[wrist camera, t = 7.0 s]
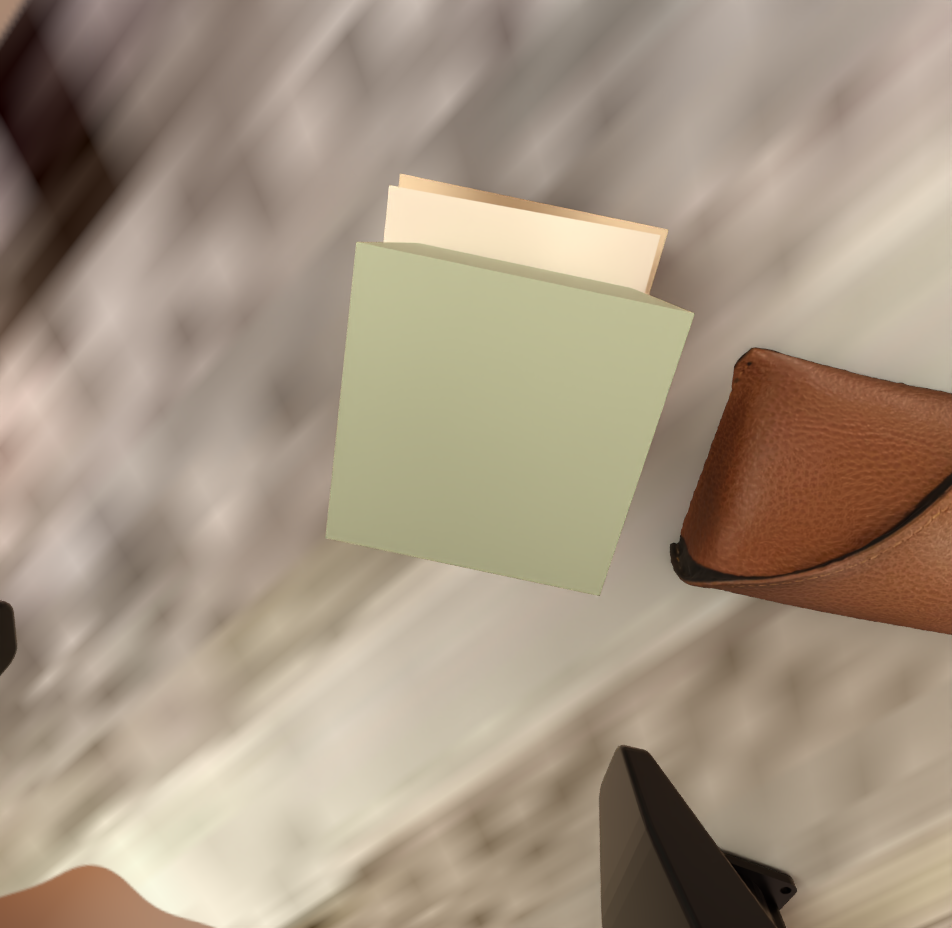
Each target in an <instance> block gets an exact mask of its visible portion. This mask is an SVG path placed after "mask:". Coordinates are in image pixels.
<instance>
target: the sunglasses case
mask: <svg viewBox="0 0 952 928" xmlns="http://www.w3.org/2000/svg"><path fill="white" fill-rule="evenodd" d="M733 373H734V374H733V380H732V391H731V393H730V396H729V400H728V402H727V404H726V407H725V410H724V413H723V416H722V419H721V420H720V423H719V426H718V429H717V432H716V434H715V438H714V440H713V442H712V444H711V448H710V451H709V454H708V457H707V459H706V461H705V464H704V468H703V471H702V473H701V475H700V478H699V481H698V484H697V487H696V489H695V491H694V494H693V498H692V500H691V502H690V506H689V510H688V513H687V514H686V517H685V519H684V522H683V527H682V529H681V535H680V542H679V543H677V544H676V543H671V544H670V556H671V563H672V565H673V569H674V571H675V573H676V574H677V576H678V577H679V578H680V579H681V580H682V581H683V582H684V583H687V584H689V585H692V586H698V587H703V588H714V589H719V590H724V591H729V592H732V593H737V594H742V595H747V596H750V597H755V598H760V599H765V600H769V601H773V602H778V603H782V604H787V605H792V606H797V607H801V608H807V609H812V610H817V611H821V612H827V613H832V614H838V615H842V616H848V617H853V618H858V619H864V620H869V621H874V622H882V623H887V624H892V625H898V626H905V627H911V628H915V629H921V630H926V631H933V632H938V633H945V634H950V635H952V394H951V393H947V392H943V391H937V390H932V389H928V388H922V387H915V386H909V385H906V384H904V383H894V382H891V381H887V380H882V379H877V378H871V377H869V376H865V375H860V374H856V373H852V372H849V371H846V370H842V369H838V368H833V367H830V366H826V365H821V364H817V363H814V362H810V361H807V360H804V359H800V358H796V357H792V356H789V355H785V354H782V353H779V352H777V351H773V350H768V349H762V348H751V349H750V350H749V351H748V352H747V353H745V354H744V355H743V356H742V357H741V358H740V359H739V360H738V361H737V363H736V364H735V366H734V372H733Z"/></svg>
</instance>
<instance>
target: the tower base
mask: <svg viewBox="0 0 952 928" xmlns="http://www.w3.org/2000/svg"><path fill="white" fill-rule="evenodd" d="M399 187H402V188H407V189H412V190H418V191H423V192H429V193H434V194H440V195H445V196H451V197H456V198H461V199H467V200H472V201H478V202H483V203H489V204H494V205H500V206H505V207H510V208H516V209H521V210H527V211H532V212H538V213H543V214H549V215H554V216H559V217H565V218H570V219H576V220H581V221H587V222H592V223H598V224H603V225H608V226H614V227H619V228H625V229H630V230H636V231H641V232H647V233H652V234H657V235H660V239H659V242H658V246H657V250H656V253H655V257H654V261H653V264H652V268H651V272H650V275H649V279H648V283H647V286H646V290H645V294H648V295H649V294H650V290H651V287H652V283H653V280H654V277H655V273H656V270H657V267H658V263H659V260H660V257H661V253H662V250H663V247H664V243H665V240H666V237H667V233H668V230H667V229H662V228H658V227H653V226H648V225H643V224H638V223H634V222H629V221H624V220H619V219H615V218H610V217H605V216H600V215H595V214H591V213H586V212H581V211H576V210H571V209H567V208H562V207H557V206H552V205H547V204H543V203H538V202H533V201H528V200H524V199H519V198H514V197H509V196H504V195H500V194H495V193H490V192H485V191H480V190H476V189H471V188H466V187H461V186H457V185H452V184H447V183H442V182H437V181H433V180H428V179H423V178H418V177H413V176H409V175H404V174H400V180H399Z"/></svg>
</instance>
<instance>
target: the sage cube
mask: <svg viewBox="0 0 952 928" xmlns="http://www.w3.org/2000/svg"><path fill="white" fill-rule="evenodd" d="M694 314H695V313H693V312H690V311H688V310H685V309H683V308H680V307H678V306H675V305H673V304H670V303H668V302H665V301H663V300H660V299H658V298H655V297H653V296H650V295H648V294H645V293H643V292H640V291H638V290H635V289H633V288H629V287H624V286H620V285H615V284H610V283H605V282H601V281H596V280H591V279H587V278H582V277H577V276H572V275H568V274H563V273H558V272H553V271H549V270H544V269H539V268H535V267H530V266H525V265H520V264H516V263H511V262H506V261H501V260H497V259H492V258H487V257H482V256H478V255H473V254H468V253H464V252H459V251H454V250H449V249H445V248H440V247H435V246H430V245H426V244H421V243H405V242H356V251H355V261H354V270H353V280H352V289H351V299H350V308H349V318H348V327H347V337H346V346H345V356H344V366H343V375H342V385H341V394H340V404H339V413H338V423H337V432H336V442H335V451H334V461H333V471H332V480H331V490H330V499H329V509H328V518H327V528H326V537H325V538H327V539H332V540H337V541H341V542H346V543H351V544H356V545H360V546H365V547H370V548H375V549H379V550H384V551H389V552H394V553H398V554H403V555H408V556H412V557H417V558H422V559H427V560H431V561H436V562H441V563H446V564H450V565H455V566H460V567H465V568H469V569H474V570H479V571H484V572H488V573H493V574H498V575H503V576H507V577H512V578H517V579H522V580H526V581H531V582H536V583H541V584H545V585H550V586H555V587H560V588H564V589H569V590H574V591H579V592H583V593H588V594H593V595H598V596H600V593H601V590H602V587H603V584H604V581H605V578H606V575H607V572H608V569H609V566H610V563H611V561H612V558H613V555H614V552H615V549H616V546H617V543H618V540H619V537H620V534H621V531H622V528H623V525H624V522H625V519H626V516H627V513H628V510H629V507H630V504H631V501H632V498H633V495H634V492H635V489H636V486H637V483H638V480H639V477H640V474H641V472H642V469H643V466H644V463H645V460H646V457H647V454H648V451H649V448H650V445H651V442H652V439H653V436H654V433H655V430H656V427H657V424H658V421H659V418H660V415H661V412H662V409H663V406H664V403H665V400H666V397H667V394H668V391H669V388H670V386H671V383H672V380H673V377H674V374H675V371H676V368H677V365H678V362H679V359H680V356H681V353H682V350H683V347H684V344H685V341H686V338H687V335H688V332H689V329H690V326H691V323H692V320H693V317H694Z"/></svg>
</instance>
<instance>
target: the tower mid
mask: <svg viewBox="0 0 952 928" xmlns="http://www.w3.org/2000/svg"><path fill="white" fill-rule="evenodd" d="M659 239H660V235H657V234H652V233H647V232H641V231H636V230H630V229H625V228H619V227H614V226H608V225H603V224H598V223H592V222H587V221H581V220H576V219H570V218H565V217H559V216H554V215H549V214H543V213H538V212H532V211H527V210H521V209H516V208H510V207H505V206H500V205H494V204H489V203H483V202H478V201H472V200H467V199H461V198H456V197H451V196H445V195H440V194H434V193H429V192H423V191H418V190H412V189H407V188H402V187H396V186H391V185H389V194H388V204H387V214H386V223H385V233H384V242H405V243H421V244H426V245H430V246H435V247H440V248H445V249H449V250H454V251H459V252H464V253H468V254H473V255H478V256H482V257H487V258H492V259H497V260H501V261H506V262H511V263H516V264H520V265H525V266H530V267H535V268H539V269H544V270H549V271H553V272H558V273H563V274H568V275H572V276H577V277H582V278H587V279H591V280H596V281H601V282H605V283H610V284H615V285H620V286H624V287H629V288H633V289H635V290H638V291H640V292H643V293H645V290H646V286H647V283H648V279H649V275H650V272H651V268H652V264H653V261H654V257H655V253H656V250H657V246H658V242H659Z"/></svg>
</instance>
